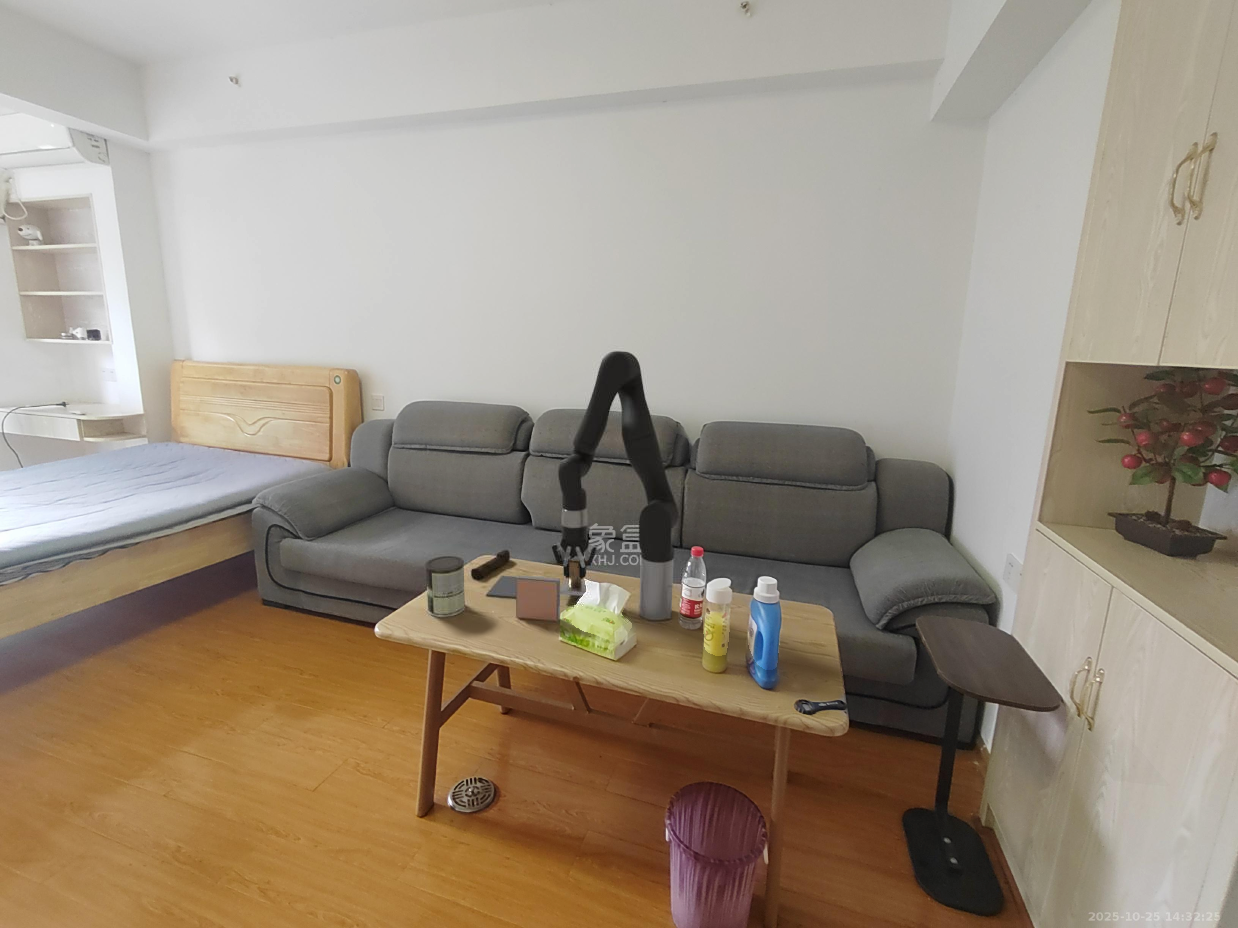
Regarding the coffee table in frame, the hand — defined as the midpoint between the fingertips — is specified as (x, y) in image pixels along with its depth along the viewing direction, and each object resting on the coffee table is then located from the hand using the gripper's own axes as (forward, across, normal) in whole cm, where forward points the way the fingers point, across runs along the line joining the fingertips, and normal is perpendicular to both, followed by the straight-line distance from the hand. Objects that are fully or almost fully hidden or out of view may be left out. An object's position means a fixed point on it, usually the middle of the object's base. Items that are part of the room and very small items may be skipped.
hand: (574, 577), depth 166 cm
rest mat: (+6, +19, -3) cm, 21 cm away
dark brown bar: (+6, +32, -16) cm, 36 cm away
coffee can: (+6, +34, +14) cm, 38 cm away
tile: (+7, +7, +14) cm, 17 cm away
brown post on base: (+4, 0, 0) cm, 4 cm away
